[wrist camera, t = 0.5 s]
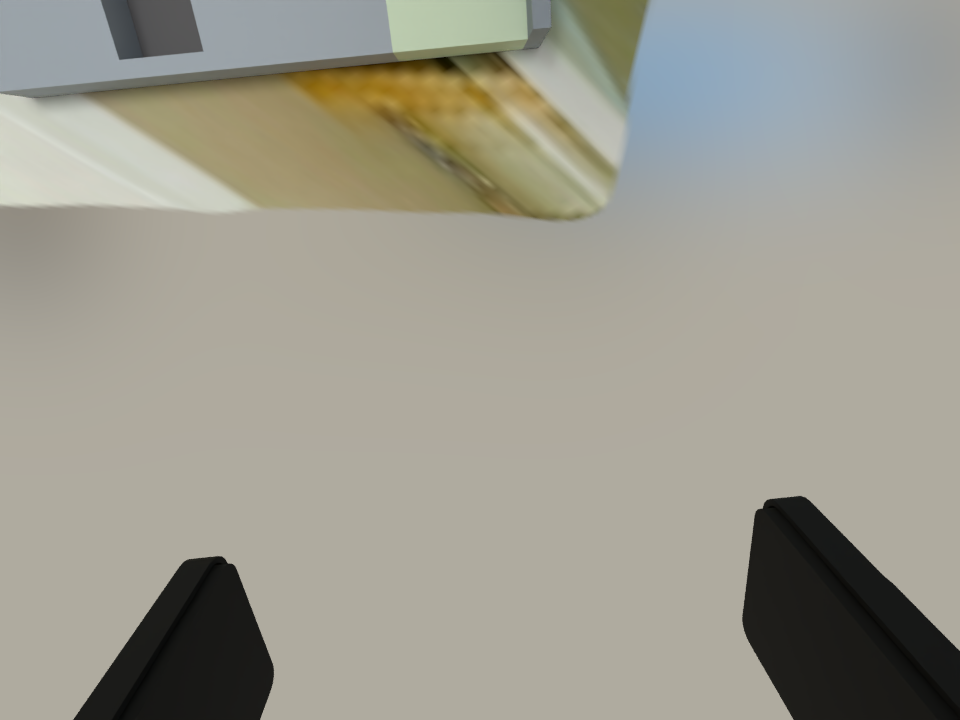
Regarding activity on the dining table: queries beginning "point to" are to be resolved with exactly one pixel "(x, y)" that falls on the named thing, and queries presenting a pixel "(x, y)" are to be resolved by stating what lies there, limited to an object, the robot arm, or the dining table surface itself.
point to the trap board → (241, 38)
